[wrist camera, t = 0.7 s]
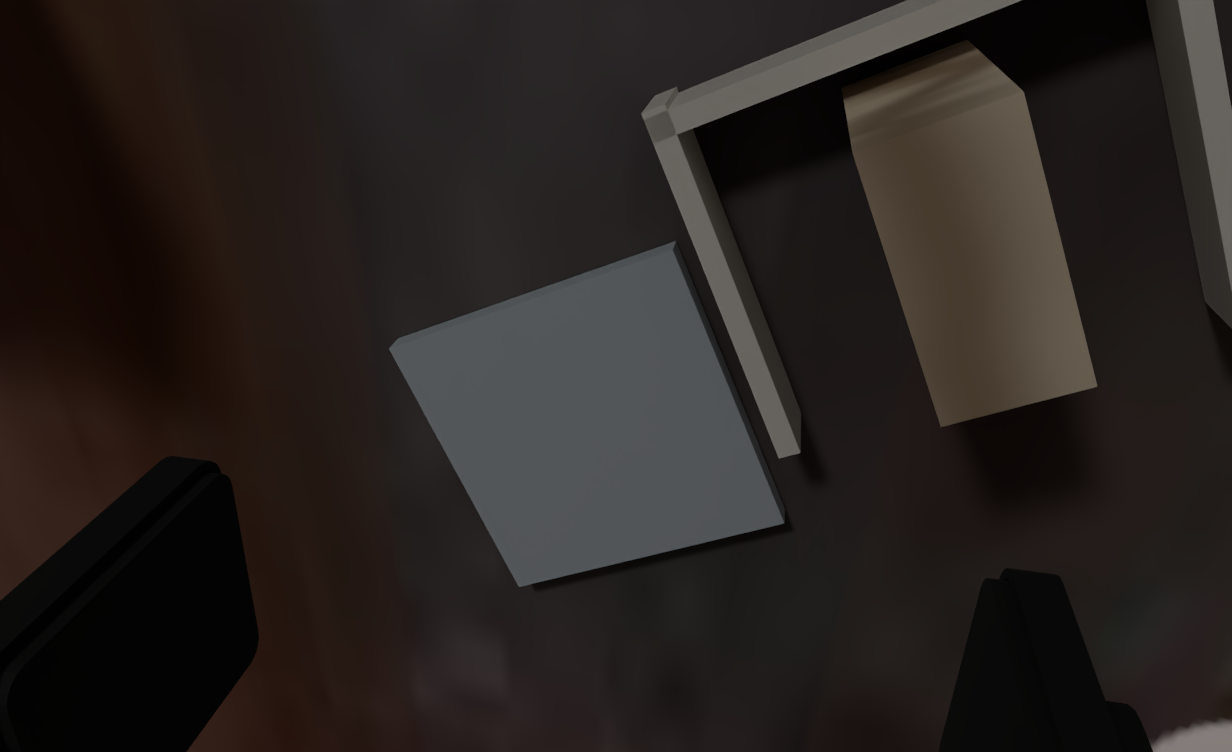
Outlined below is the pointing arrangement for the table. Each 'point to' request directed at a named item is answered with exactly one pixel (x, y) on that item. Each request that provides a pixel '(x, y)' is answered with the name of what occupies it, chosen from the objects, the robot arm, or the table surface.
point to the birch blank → (968, 232)
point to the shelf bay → (1177, 7)
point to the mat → (594, 419)
